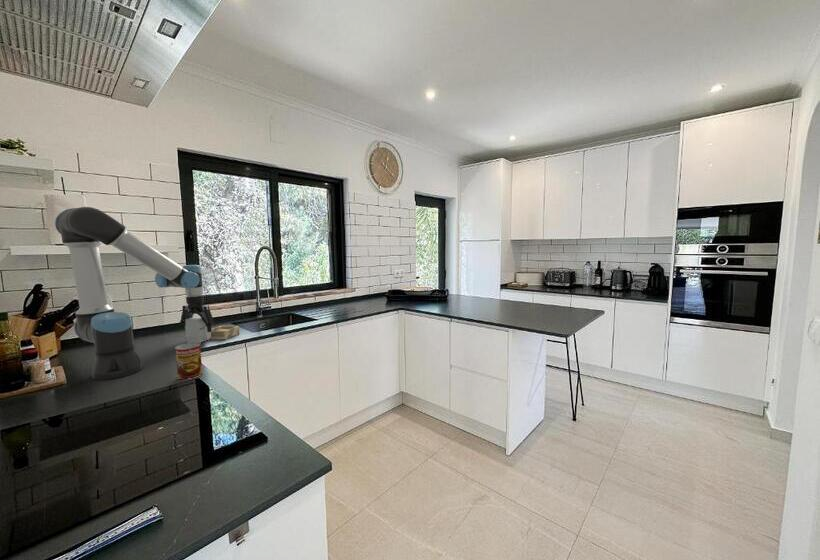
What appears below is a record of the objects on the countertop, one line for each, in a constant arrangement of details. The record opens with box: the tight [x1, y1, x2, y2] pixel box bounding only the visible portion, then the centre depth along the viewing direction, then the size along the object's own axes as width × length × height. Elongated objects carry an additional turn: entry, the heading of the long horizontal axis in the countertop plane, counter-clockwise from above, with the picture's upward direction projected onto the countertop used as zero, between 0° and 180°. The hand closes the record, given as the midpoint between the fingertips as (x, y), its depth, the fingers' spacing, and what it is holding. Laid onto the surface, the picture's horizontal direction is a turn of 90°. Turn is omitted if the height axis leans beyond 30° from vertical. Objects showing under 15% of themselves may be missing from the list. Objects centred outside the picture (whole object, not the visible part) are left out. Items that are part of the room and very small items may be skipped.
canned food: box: [174, 343, 203, 380], centre depth 130 cm, size 8×8×12 cm
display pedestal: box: [210, 325, 240, 340], centre depth 184 cm, size 11×11×4 cm
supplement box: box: [185, 315, 211, 344], centre depth 175 cm, size 7×7×13 cm
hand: (198, 337), depth 175 cm, fingers open, 11 cm apart
